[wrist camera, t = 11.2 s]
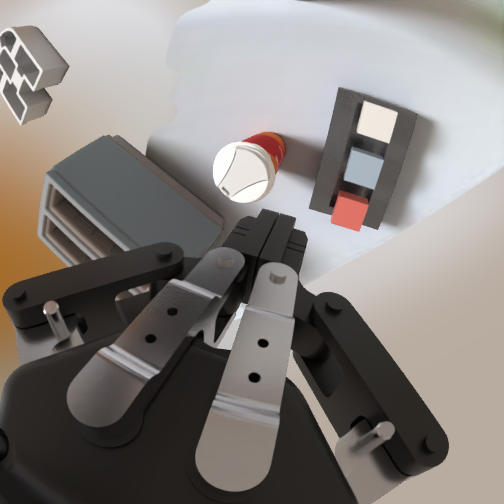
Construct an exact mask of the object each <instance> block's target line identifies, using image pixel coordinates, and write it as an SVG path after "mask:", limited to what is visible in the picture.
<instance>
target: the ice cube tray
mask: <svg viewBox="0 0 504 504" xmlns="http://www.w3.org/2000/svg"><path fill="white" fill-rule="evenodd" d="M68 68H69V65H68V64H67V62H66V61H65V60H64V59H63V58H62V56H61V55H60V54H59V53H58V51H57V50H56V49H55V48H54V47H53V45H52V44H51V43H50V42H49V41H48V39H47V38H46V37H45V36H44V34H43V33H42V32H41V30H40V29H39V28H37V27H34V26H22V27H10V28H6V29H4V30H3V31H2V32H1V34H0V93H1V95H2V96H3V98H4V100H5V101H6V103H7V104H8V106H9V108H10V109H11V111H12V113H13V114H14V116H15V117H16V119H17V121H18V122H19V124H20V125H23V124H26V123H27V122H28V121H31V120H34V119H37V118H40V117H42V116H44V115H45V114H46V113H47V111H48V109H49V106H50V104H51V102H52V100H53V99H52V98H51V96H50V95H49V94H48V92H47V91H46V90H45V87H49V86H54V85H58V84H59V83H61V81H62V80H63V77H64V76H65V74H66V72H67V70H68Z"/></svg>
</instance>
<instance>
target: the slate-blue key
mask: <svg viewBox="0 0 504 504" xmlns="http://www.w3.org/2000/svg"><path fill="white" fill-rule="evenodd" d="M383 162H384V160H383V157H382V156H380V155H377V154H374V153H371V152H368V151H365V150H362V149H359V148H356V147H353V146H352V149H351V152H350V156H349V159H348V163H347V166H346V170H345V173H344V180H345V181H349V182H352V183H355V184H358V185H361V186H364V187H367V188H370V189H373V190H374V189H375V186H376V183H377V180H378V177H379V174H380V171H381V168H382V165H383Z"/></svg>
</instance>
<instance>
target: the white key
mask: <svg viewBox="0 0 504 504" xmlns="http://www.w3.org/2000/svg"><path fill="white" fill-rule="evenodd" d="M397 114H398V112H396V111H394V110H391V109H388V108H386V107H383V106H380V105H377V104H374V103H371V102H368V101H364V102H363V107H362V111H361V115H360V118H359V122H358V126H357V133H359V134H362V135H365V136H368V137H371V138H374V139H377V140H380V141H383V142H386V143H389V142H390V139H391V136H392V132H393V129H394V125H395V122H396V118H397Z"/></svg>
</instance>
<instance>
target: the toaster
mask: <svg viewBox="0 0 504 504" xmlns="http://www.w3.org/2000/svg"><path fill="white" fill-rule="evenodd" d="M223 224H224V219H223V218H222V217H221V216H220V215H218V214H217V213H216V212H215V211H213V210H212V209H211V208H210V207H208V206H207V205H206V204H205V203H203V202H202V201H201V200H200V199H198V198H197V197H196V196H195V195H193V194H192V193H191V192H190V191H188V190H187V189H186V188H185V187H183V186H182V185H181V184H180V183H178V182H177V181H176V180H175V179H173V178H172V177H171V176H170V175H168V174H167V173H166V172H165V171H163V170H162V169H161V168H160V167H158V166H157V165H156V164H155V163H153V162H152V161H151V160H150V159H148V158H147V157H146V156H144V155H143V154H142V153H141V152H139V151H138V150H137V149H135V148H134V147H133V146H132V145H131V144H129V143H128V142H127V141H126V140H124V139H123V138H121V137H120V136H119V135H116V136H114V137H112V136H110V135H107V136H102V137H100V138H99V139H97V140H95V141H93V142H91V143H90V144H88V145H86V146H85V147H83V148H81V149H80V150H78V151H76V152H75V153H73V154H72V155H70V156H69V157H67V158H65V159H64V160H62V161H61V162H59V163H58V164H56V165H55V166H53V167H52V169H51V170H50V171H48V172H46V174H45V178H44V184H43V190H42V197H41V204H40V212H39V221H38V230H37V235H38V237H39V238H40V239H41V240H42V241H43V242H44V243H45V244H46V245H47V246H48V247H49V248H50V249H51V250H52V251H53V252H54V253H55V254H56V255H57V256H58V257H59V258H60V259H61V260H62V261H63V262H64V263H65V264H66V265H67V266H68V267H71V266H74V265H78V264H81V263H85V262H89V261H92V260H96V259H99V258H103V257H107V256H110V255H114V254H118V253H121V252H125V251H129V250H133V249H137V248H140V247H144V246H148V245H152V244H156V243H160V242H170V243H174V244H177V245H178V246H180V247H181V248H182V249H183V252H184V257H193V258H203V257H204V256H205V255H206V254H207V250H208V249H209V247H210V246H211V245H212V243H213V242H214V241H215V240H216V239H217V237H218V236H219V235H220V234H221V232H222V230H223V226H222V225H223ZM147 291H149V285H148V284H146V285H143V286H139V287H136V288H133V289H129V290H126V291H123V292H121V293H119V294H118V295H117V296H116V298H115V301H117V300H121V299H124V298H128V297H131V296H134V295H137V294H141V293H144V292H147Z"/></svg>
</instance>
